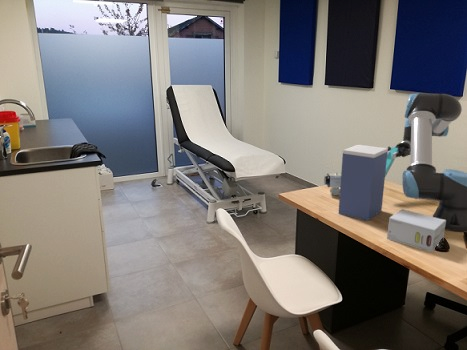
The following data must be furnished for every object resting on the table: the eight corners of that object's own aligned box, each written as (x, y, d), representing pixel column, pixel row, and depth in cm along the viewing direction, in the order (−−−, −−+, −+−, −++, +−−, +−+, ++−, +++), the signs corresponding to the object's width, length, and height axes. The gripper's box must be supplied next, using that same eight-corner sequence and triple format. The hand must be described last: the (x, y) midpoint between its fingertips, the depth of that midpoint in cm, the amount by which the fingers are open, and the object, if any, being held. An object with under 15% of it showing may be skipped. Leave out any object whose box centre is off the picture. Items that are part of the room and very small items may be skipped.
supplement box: (386, 239, 152) (388, 217, 149) (399, 229, 161) (401, 208, 159) (431, 253, 141) (435, 229, 138) (443, 241, 150) (446, 219, 147)
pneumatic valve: (323, 192, 207) (324, 171, 204) (345, 193, 207) (346, 171, 204) (325, 196, 202) (326, 174, 199) (347, 196, 202) (349, 174, 199)
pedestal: (352, 204, 190) (357, 144, 182) (381, 210, 181) (387, 148, 173) (338, 213, 178) (343, 150, 170) (368, 221, 170) (374, 154, 161)
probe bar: (392, 151, 206) (392, 147, 204) (398, 152, 204) (398, 148, 202) (376, 181, 194) (375, 177, 192) (382, 183, 192) (381, 178, 190)
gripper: (418, 156, 212) (404, 165, 194) (388, 153, 222) (373, 160, 204) (420, 143, 210) (406, 150, 192) (390, 140, 220) (374, 146, 202)
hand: (389, 155), depth 198 cm, fingers closed on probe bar, 3 cm apart
